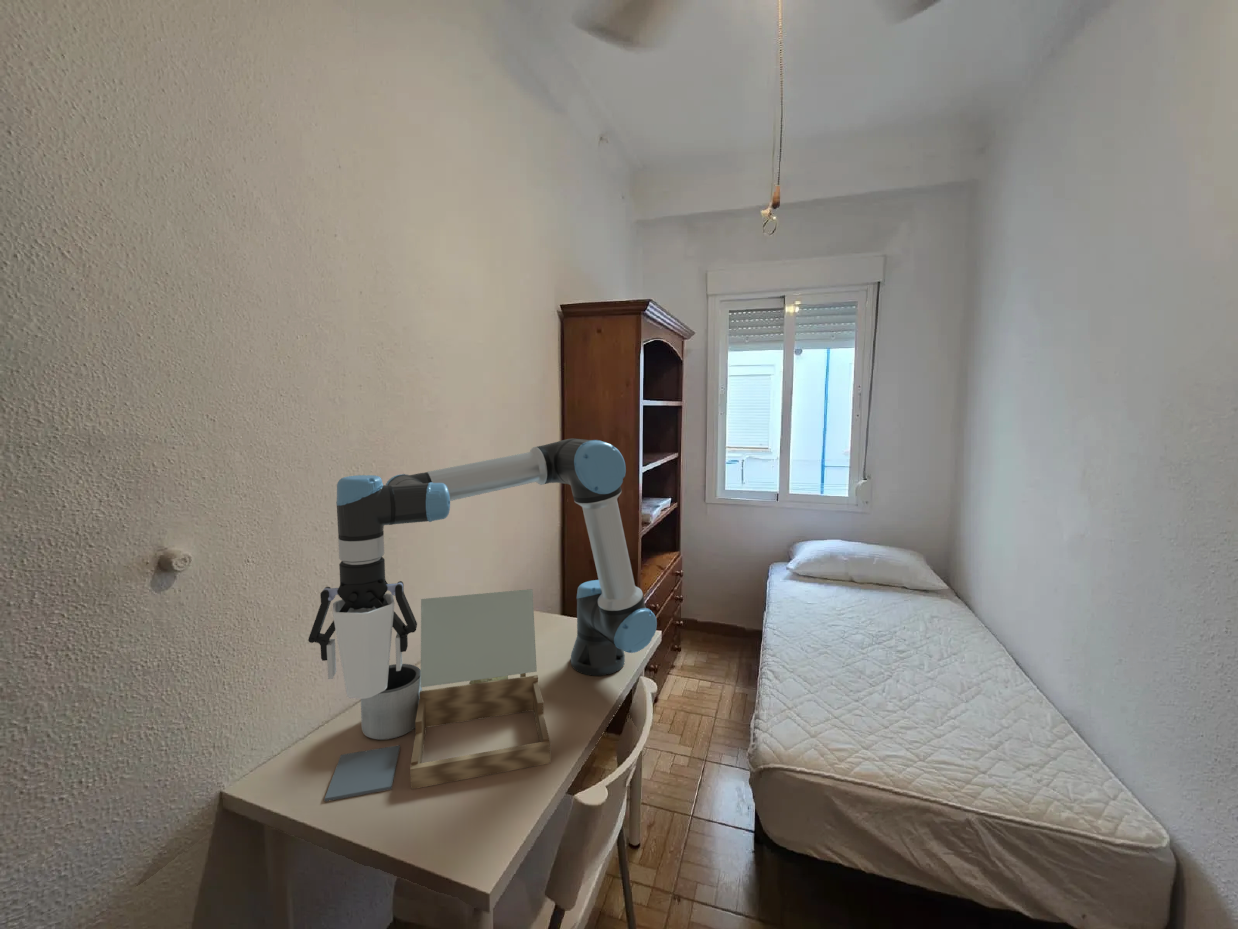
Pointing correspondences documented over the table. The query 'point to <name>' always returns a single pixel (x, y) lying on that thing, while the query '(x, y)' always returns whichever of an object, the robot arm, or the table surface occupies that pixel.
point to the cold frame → (471, 706)
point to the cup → (364, 647)
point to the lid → (477, 637)
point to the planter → (393, 705)
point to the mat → (363, 773)
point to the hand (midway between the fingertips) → (366, 671)
